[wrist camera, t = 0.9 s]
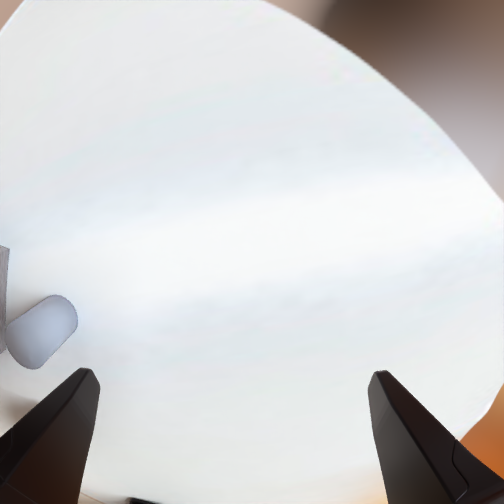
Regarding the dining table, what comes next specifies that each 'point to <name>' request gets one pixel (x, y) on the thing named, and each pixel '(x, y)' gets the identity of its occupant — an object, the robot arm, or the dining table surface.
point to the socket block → (3, 294)
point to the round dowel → (41, 331)
